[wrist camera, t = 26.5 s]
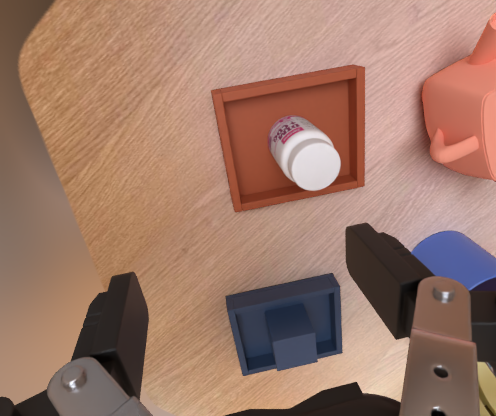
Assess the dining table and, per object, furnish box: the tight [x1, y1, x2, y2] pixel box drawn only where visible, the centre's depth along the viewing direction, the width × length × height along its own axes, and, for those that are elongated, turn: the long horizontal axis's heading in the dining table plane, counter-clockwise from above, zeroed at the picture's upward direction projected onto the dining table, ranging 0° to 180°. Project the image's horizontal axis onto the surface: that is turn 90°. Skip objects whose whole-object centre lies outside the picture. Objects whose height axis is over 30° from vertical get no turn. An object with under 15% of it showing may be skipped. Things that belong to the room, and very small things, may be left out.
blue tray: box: [226, 273, 342, 376], centre depth 45 cm, size 14×12×3 cm
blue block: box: [265, 303, 318, 371], centre depth 43 cm, size 5×5×5 cm
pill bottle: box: [268, 115, 341, 191], centre depth 31 cm, size 5×5×8 cm
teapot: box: [421, 13, 496, 182], centre depth 32 cm, size 14×12×10 cm
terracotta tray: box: [211, 65, 365, 212], centre depth 34 cm, size 14×12×3 cm
